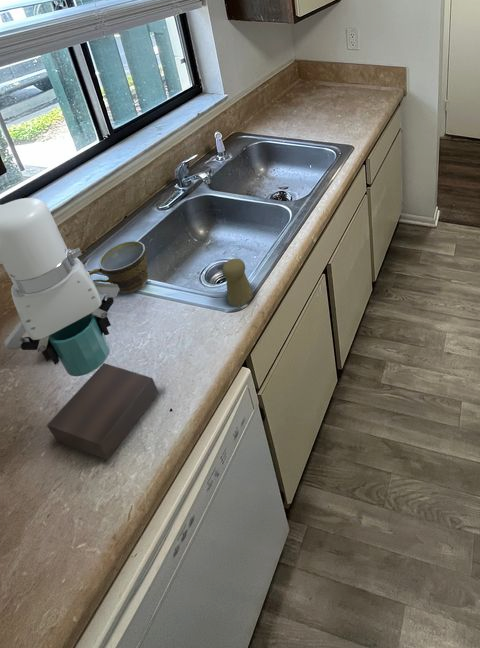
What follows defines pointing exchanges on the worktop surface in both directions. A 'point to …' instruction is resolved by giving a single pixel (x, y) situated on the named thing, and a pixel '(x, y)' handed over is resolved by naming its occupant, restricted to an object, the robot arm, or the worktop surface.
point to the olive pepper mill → (237, 282)
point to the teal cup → (81, 346)
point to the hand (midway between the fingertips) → (81, 343)
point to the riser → (104, 410)
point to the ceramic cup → (124, 266)
